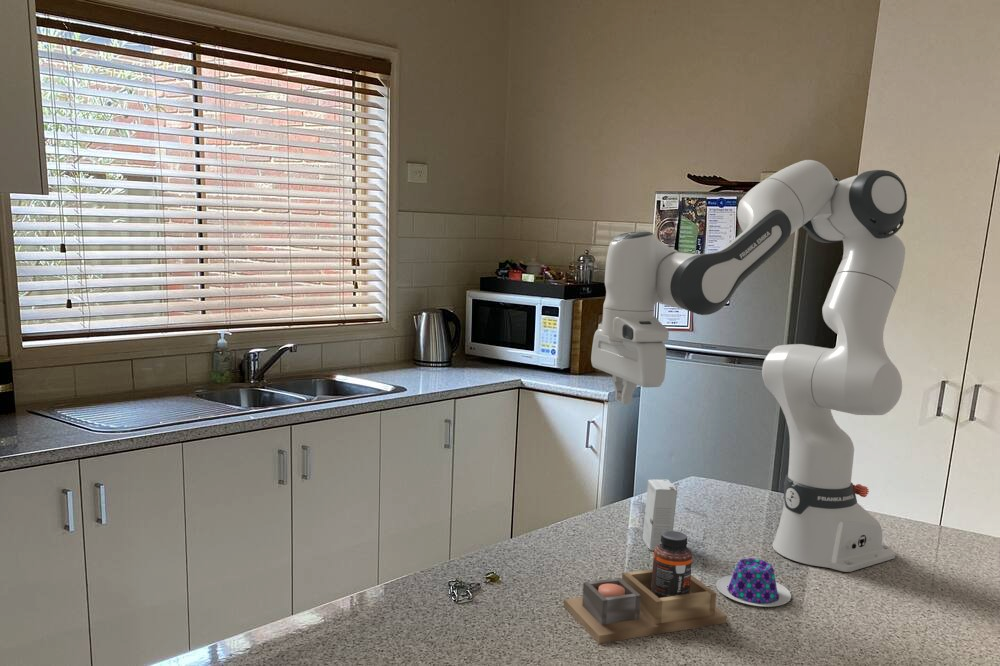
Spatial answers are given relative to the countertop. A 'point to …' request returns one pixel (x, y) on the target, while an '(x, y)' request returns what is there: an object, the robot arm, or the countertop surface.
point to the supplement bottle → (671, 565)
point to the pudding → (754, 584)
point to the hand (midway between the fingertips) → (623, 402)
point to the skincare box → (659, 511)
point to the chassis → (642, 609)
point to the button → (611, 590)
